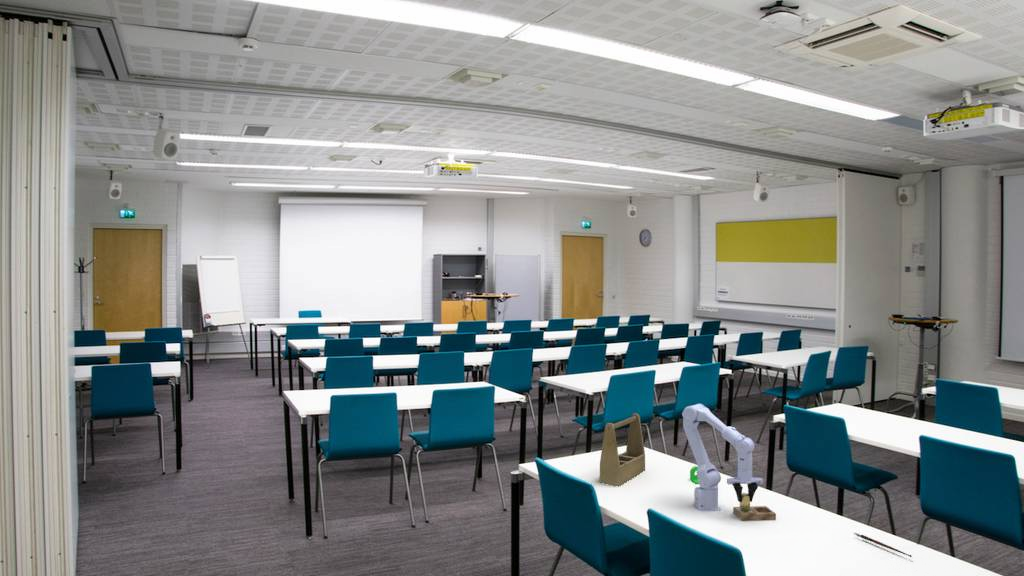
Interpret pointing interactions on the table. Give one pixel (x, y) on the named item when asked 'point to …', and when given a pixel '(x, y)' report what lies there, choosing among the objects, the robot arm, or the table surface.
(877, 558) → the table surface
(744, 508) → the cylinder
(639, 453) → the caddy
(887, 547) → the pen
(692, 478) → the mechanical part
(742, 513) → the pocket board
